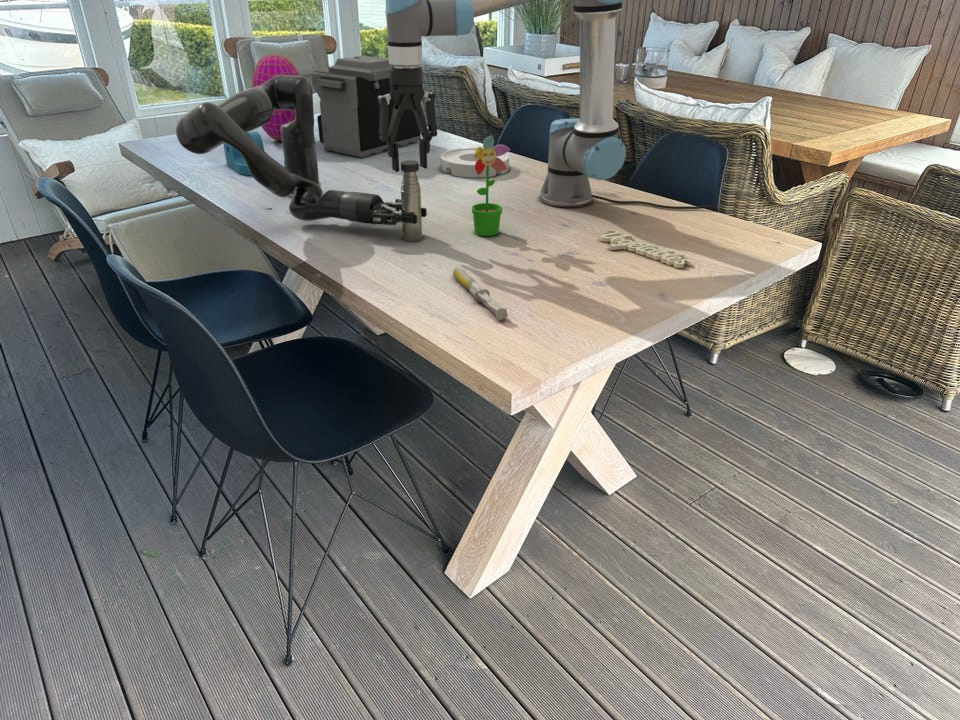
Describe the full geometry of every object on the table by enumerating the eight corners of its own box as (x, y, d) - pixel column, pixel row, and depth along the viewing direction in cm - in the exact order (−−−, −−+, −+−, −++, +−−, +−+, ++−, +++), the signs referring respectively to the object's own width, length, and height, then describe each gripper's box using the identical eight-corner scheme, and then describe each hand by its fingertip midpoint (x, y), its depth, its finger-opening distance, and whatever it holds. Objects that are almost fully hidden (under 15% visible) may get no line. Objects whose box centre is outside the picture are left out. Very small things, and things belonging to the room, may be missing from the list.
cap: (398, 168, 167) (398, 160, 166) (416, 166, 168) (416, 159, 167) (403, 172, 164) (402, 165, 163) (420, 171, 165) (420, 164, 164)
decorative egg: (293, 132, 276) (283, 50, 261) (319, 140, 264) (310, 56, 249) (249, 139, 265) (236, 54, 250) (273, 148, 253) (261, 60, 238)
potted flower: (478, 239, 174) (479, 138, 161) (464, 230, 180) (464, 131, 167) (510, 234, 178) (514, 134, 165) (496, 224, 184) (498, 128, 171)
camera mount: (227, 164, 233) (221, 132, 227) (257, 160, 238) (252, 129, 233) (244, 176, 220) (239, 143, 215) (276, 172, 225) (271, 139, 220)
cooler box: (383, 133, 276) (378, 52, 261) (425, 141, 265) (422, 56, 250) (314, 150, 251) (304, 61, 235) (358, 160, 240) (350, 67, 224)
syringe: (449, 274, 155) (449, 263, 153) (465, 272, 156) (464, 260, 154) (490, 323, 135) (491, 310, 133) (508, 319, 136) (508, 307, 134)
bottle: (426, 237, 175) (423, 164, 166) (413, 243, 172) (410, 168, 162) (411, 233, 178) (408, 161, 168) (399, 238, 174) (395, 165, 165)
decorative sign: (586, 237, 174) (611, 228, 179) (586, 240, 174) (611, 231, 180) (674, 268, 157) (698, 257, 162) (673, 272, 157) (698, 261, 163)
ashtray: (443, 158, 243) (443, 147, 241) (508, 159, 242) (508, 148, 240) (437, 176, 223) (437, 164, 221) (508, 178, 222) (509, 165, 220)
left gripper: (345, 201, 168) (408, 209, 163) (373, 185, 180) (432, 193, 175) (348, 230, 172) (409, 239, 167) (375, 213, 184) (433, 221, 179)
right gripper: (437, 61, 161) (439, 160, 173) (358, 66, 153) (366, 169, 165) (452, 65, 155) (452, 167, 167) (370, 70, 147) (377, 177, 159)
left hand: (421, 215), depth 171 cm, fingers closed on bottle, 5 cm apart
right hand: (409, 168), depth 166 cm, fingers open, 7 cm apart
